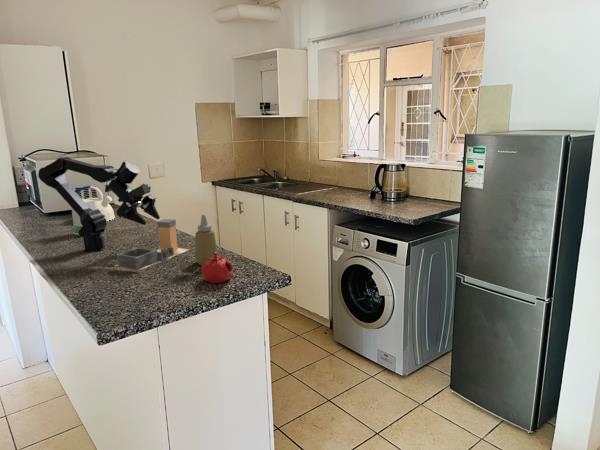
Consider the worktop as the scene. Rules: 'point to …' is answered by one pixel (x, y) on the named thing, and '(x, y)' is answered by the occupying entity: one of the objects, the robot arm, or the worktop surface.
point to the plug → (167, 234)
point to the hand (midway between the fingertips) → (152, 221)
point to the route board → (144, 258)
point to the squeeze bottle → (204, 242)
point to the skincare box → (76, 217)
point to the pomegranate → (217, 269)
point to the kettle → (101, 203)
